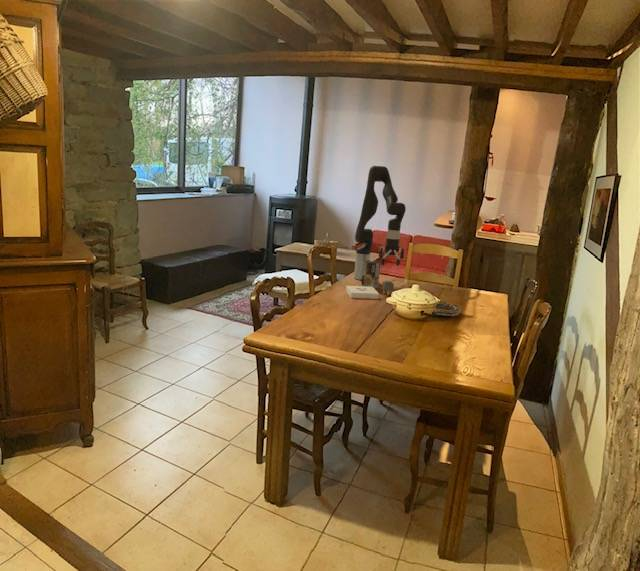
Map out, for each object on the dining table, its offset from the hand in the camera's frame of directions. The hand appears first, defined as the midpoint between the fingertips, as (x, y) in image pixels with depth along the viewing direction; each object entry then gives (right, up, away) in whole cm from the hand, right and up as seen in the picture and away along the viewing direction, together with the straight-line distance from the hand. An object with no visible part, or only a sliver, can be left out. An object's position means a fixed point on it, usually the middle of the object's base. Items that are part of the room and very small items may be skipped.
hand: (390, 265), depth 281 cm
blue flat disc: (+23, -27, -26) cm, 43 cm away
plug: (-1, -17, +4) cm, 18 cm away
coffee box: (-10, -13, +19) cm, 25 cm away
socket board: (-17, -17, -1) cm, 24 cm away
